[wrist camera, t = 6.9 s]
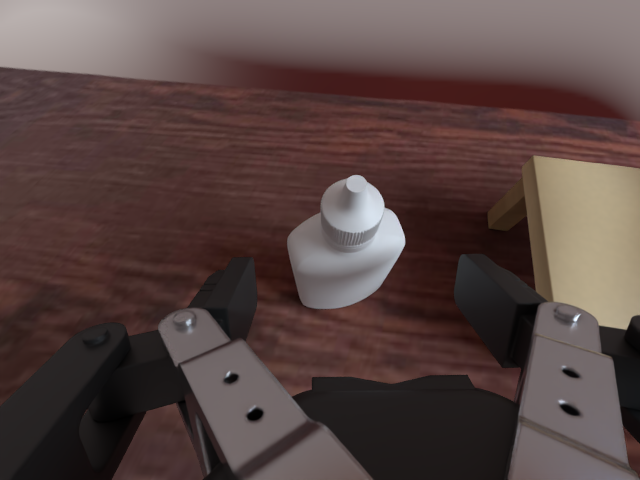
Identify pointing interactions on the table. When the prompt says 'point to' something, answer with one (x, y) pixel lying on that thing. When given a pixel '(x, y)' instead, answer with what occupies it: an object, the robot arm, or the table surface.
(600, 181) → the stand
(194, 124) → the table surface
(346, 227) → the eye dropper bottle
